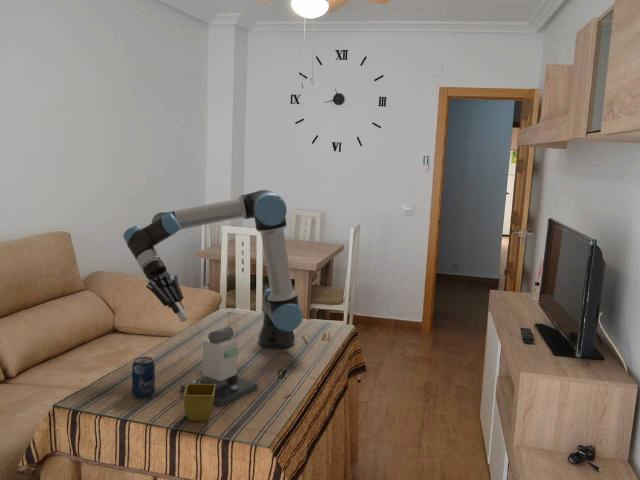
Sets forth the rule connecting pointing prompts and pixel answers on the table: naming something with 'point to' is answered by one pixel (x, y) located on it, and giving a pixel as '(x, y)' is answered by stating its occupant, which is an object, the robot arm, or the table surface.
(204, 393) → the flower pot
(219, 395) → the levelling base
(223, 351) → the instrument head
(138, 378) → the soda can
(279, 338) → the robot arm
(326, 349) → the table surface
